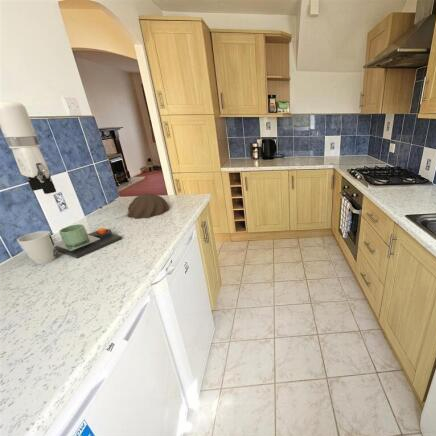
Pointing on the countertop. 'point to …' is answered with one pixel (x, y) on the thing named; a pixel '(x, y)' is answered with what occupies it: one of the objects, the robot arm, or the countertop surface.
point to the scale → (93, 244)
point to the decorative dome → (147, 206)
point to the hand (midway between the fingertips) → (44, 191)
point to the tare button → (101, 231)
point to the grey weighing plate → (72, 247)
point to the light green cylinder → (74, 234)
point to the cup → (38, 246)
